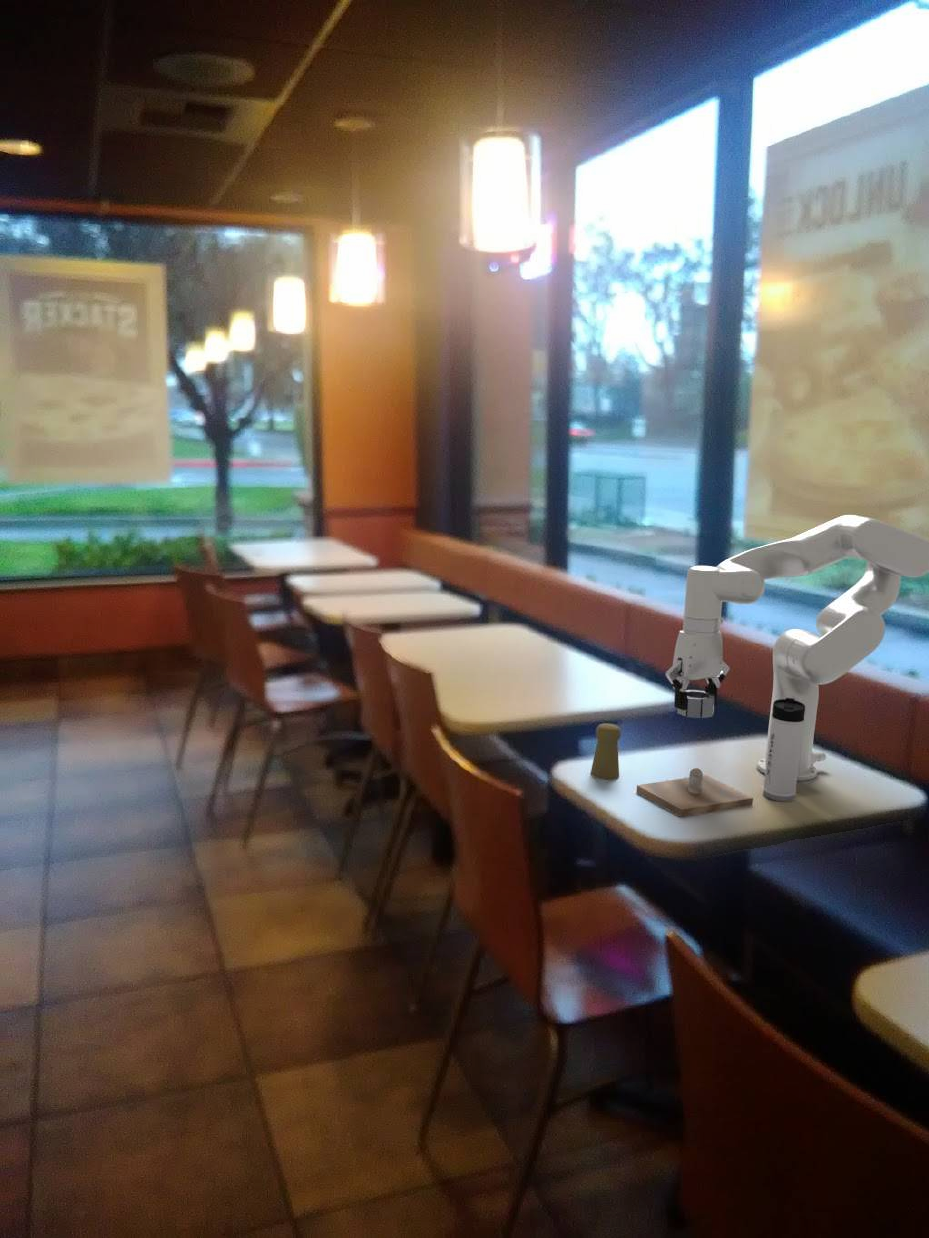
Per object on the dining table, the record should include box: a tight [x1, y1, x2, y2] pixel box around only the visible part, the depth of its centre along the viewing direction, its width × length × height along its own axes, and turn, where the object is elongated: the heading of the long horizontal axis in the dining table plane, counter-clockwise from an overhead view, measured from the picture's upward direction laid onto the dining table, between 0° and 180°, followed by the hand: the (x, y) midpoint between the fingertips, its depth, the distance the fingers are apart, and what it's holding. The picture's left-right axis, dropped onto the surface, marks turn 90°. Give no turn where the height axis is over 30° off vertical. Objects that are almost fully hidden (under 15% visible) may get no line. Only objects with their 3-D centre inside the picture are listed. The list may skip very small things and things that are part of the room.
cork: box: [590, 722, 622, 781], centre depth 216 cm, size 6×6×11 cm
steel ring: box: [676, 689, 715, 719], centre depth 218 cm, size 7×7×4 cm
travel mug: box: [762, 698, 805, 803], centre depth 207 cm, size 6×7×20 cm
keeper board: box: [636, 767, 754, 818], centre depth 205 cm, size 18×14×6 cm
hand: (695, 706), depth 218 cm, fingers closed on steel ring, 7 cm apart
